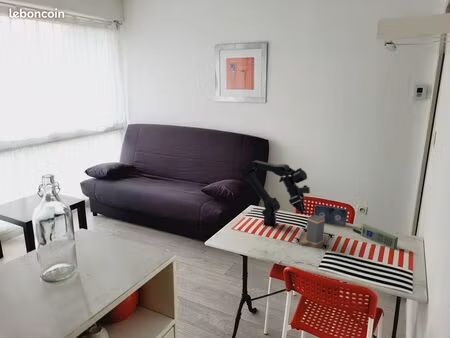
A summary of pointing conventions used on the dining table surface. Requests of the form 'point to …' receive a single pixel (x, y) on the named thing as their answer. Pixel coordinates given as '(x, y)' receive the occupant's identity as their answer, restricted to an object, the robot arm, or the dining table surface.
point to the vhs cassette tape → (331, 214)
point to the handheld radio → (378, 236)
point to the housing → (315, 229)
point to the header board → (308, 243)
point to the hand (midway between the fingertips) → (303, 212)
